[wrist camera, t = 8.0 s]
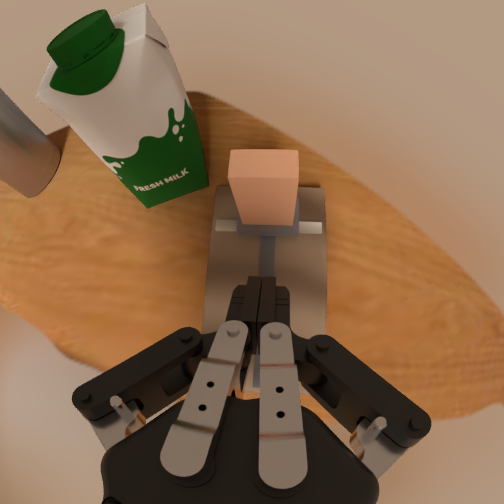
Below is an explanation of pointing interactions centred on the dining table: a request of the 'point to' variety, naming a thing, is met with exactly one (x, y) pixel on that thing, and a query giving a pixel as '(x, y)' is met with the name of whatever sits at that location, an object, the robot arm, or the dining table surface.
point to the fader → (265, 191)
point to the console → (269, 267)
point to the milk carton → (127, 102)
